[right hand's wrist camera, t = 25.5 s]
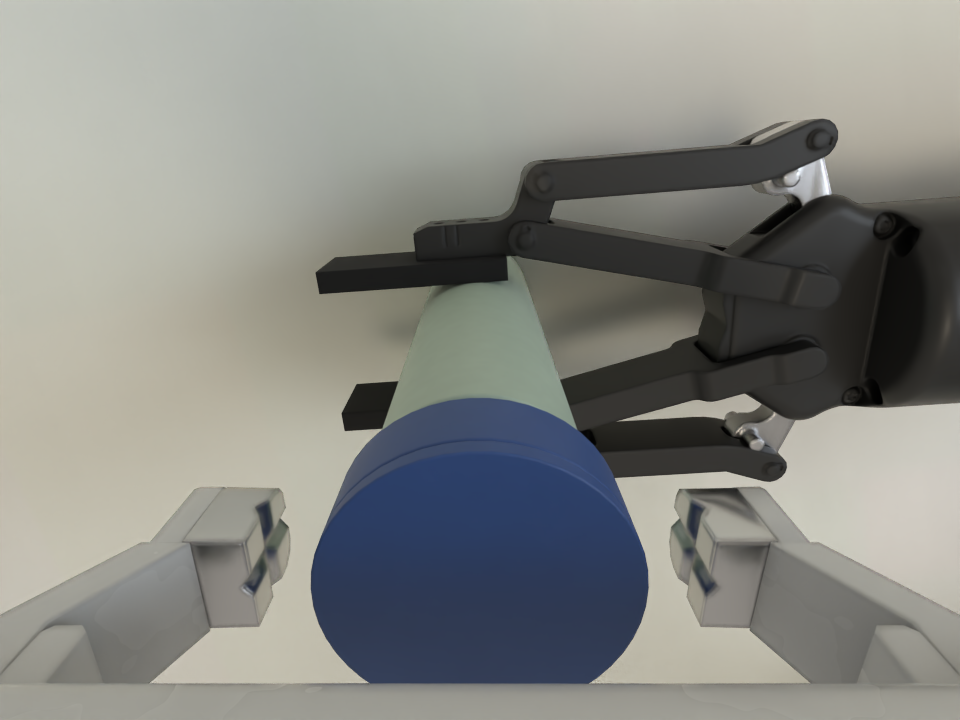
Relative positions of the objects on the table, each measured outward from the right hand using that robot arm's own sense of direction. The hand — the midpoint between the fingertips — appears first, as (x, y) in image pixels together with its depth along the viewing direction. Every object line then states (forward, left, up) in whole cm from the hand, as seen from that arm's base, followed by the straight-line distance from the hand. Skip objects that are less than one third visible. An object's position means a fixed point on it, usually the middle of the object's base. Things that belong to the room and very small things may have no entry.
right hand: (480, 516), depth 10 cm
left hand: (-4, -4, -11) cm, 12 cm away
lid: (0, 0, +2) cm, 2 cm away
